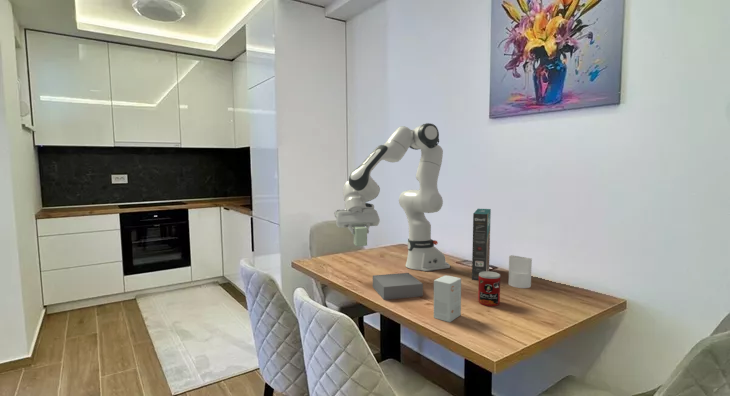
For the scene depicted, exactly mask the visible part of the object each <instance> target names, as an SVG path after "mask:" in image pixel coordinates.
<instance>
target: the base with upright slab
mask: <svg viewBox="0 0 730 396" xmlns="http://www.w3.org/2000/svg"><path fill="white" fill-rule="evenodd" d="M532 260H533V258H530V257H525V256H519V255H514V254H512V255H509V257H508V279H507V280H508V284H507V285H509V286H511V287H513V288H517V289H518V288H519V289H528V288H531V286H532V267H533V266H532V263H533V262H532Z"/></svg>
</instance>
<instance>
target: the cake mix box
mask: <svg viewBox="0 0 730 396" xmlns="http://www.w3.org/2000/svg"><path fill="white" fill-rule="evenodd" d="M491 211H492V210H491V208H477V209H476V210H475V211H474V212H473V215H472V253H471V255H472V256H471V257H472V258H471V259H472V260H471V261H472V262H471V264H472V265H471V270H472V271H471V280H472V281H479V273H480V272H483V271H490V256H491V255H490V249H491V248H490V247H491V245H490V244H491V217H492V216H491V215H492V214H491V213H492V212H491Z"/></svg>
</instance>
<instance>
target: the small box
mask: <svg viewBox="0 0 730 396" xmlns="http://www.w3.org/2000/svg"><path fill="white" fill-rule="evenodd" d="M461 313H462V277H461V278H460V277H457V276H452V275H446V274H444V275H443V276H441V277H439V278H436V279H434V280H433V318H434V319H437V320H440V321H442V322H447V323H451V322H453V321H454V320H456V319H457V318H458V317H460V316H461Z"/></svg>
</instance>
